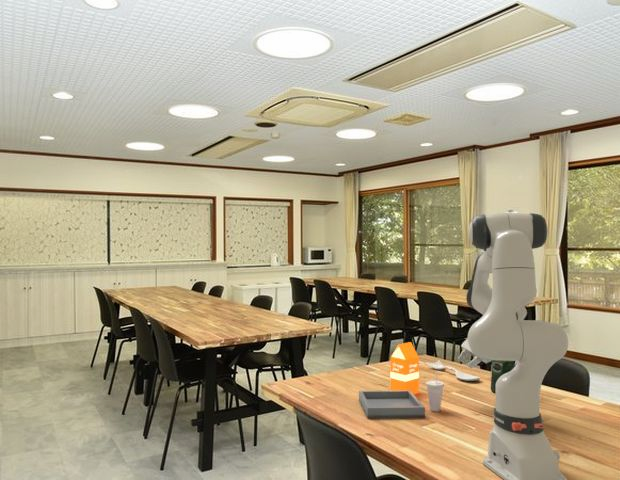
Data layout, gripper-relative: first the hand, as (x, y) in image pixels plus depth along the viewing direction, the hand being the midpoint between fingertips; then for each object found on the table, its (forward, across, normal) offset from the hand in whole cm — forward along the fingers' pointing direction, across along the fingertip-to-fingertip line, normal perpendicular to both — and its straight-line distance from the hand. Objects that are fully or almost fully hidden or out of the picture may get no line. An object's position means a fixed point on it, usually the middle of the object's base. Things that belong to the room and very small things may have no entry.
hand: (463, 363), depth 178 cm
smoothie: (+20, 0, +4) cm, 20 cm away
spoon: (+4, -48, +21) cm, 53 cm away
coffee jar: (-4, -19, +28) cm, 34 cm away
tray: (+31, -2, -7) cm, 32 cm away
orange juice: (+24, -21, 0) cm, 32 cm away
